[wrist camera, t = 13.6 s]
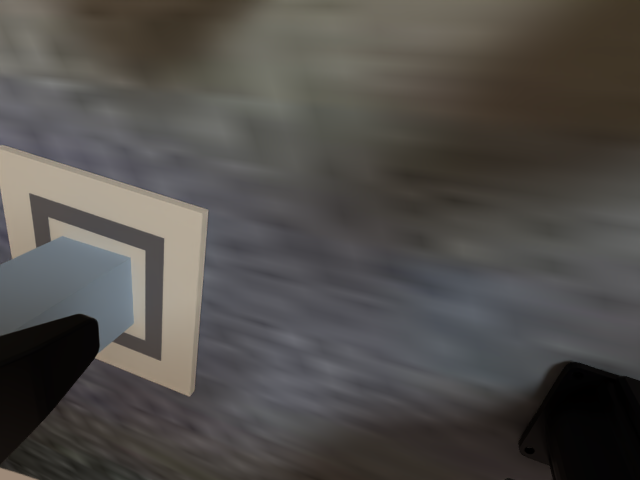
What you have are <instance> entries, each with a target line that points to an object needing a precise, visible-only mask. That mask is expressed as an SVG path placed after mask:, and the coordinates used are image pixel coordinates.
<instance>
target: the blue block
mask: <svg viewBox="0 0 640 480" xmlns="http://www.w3.org/2000/svg"><path fill="white" fill-rule="evenodd" d="M74 314H85V315H87V316H90V317H92V318H95V319H96V320H97V321H98V324H99V339H100V348H99V352H100V351H102V350H103V349H104V348H105V347H106V346H108V345H109V344H110V343H111V342H112V341H114V340H115V339H116V338H117V337H118V336H120V335H121V334H122V333H123V332H124V331H126V330H127V329H128V328H129V327H130V326H132V325H133V324H134V314H133V294H132V274H131V258H130V257H127V256H123V255H120V254H117V253H114V252H111V251H108V250H104V249H101V248H98V247H95V246H92V245H89V244H86V243H82V242H79V241H76V240H73V239H70V238H67V237H64V236H61V237H59V238H57V239H55V240H53V241H50V242H48V243H46V244H44V245H42V246H40V247H37V248H35V249H33V250H31V251H29V252H27V253H24V254H22V255H20V256H18V257H16V258H14V259H11V260H9V261H7V262H5V263H3V264H1V265H0V336H1V335H5V334H8V333H12V332H15V331H19V330H22V329H26V328H29V327H33V326H36V325H40V324H43V323H47V322H50V321H54V320H57V319H61V318H64V317H68V316H71V315H74ZM99 352H98V353H99Z"/></svg>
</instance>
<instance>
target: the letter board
mask: <svg viewBox="0 0 640 480" xmlns="http://www.w3.org/2000/svg"><path fill="white" fill-rule="evenodd" d="M0 189H1V195H2V201H3V207H4V213H5V219H6V225H7V231H8V237H9V243H10V249H11V255H12V259H14V258H16V257H18V256H20V255H22V254H24V253H27V252H29V251H31V250H33V249H35V248H37V247H40V246H42V245H44V244H46V243H48V242H50V241H53V240H55V239H57V238H59V237H61V236H64V237H67V238H70V239H73V240H76V241H79V242H82V243H86V244H89V245H92V246H95V247H98V248H101V249H104V250H108V251H111V252H114V253H117V254H120V255H123V256H127V257H130V258H131V274H132V294H133V314H134V324H133V325H132V326H130V327H129V328H128V329H127V330H126V331H124V332H123V333H122V334H121V335H120V336H118V337H117V338H116V339H115V340H114V341H112V342H111V343H110V344H109V345H108V346H106V347H105V348H104V349H103V350H102V351H100V352H99V353H98V354H97V356H96V357H95V358H96V359H98V360H101V361H103V362H106V363H108V364H111V365H113V366H115V367H118V368H120V369H123V370H125V371H128V372H130V373H133V374H135V375H138V376H140V377H143V378H145V379H147V380H150V381H152V382H155V383H157V384H160V385H162V386H165V387H167V388H170V389H172V390H174V391H177V392H179V393H182V394H184V395H187V396H189V397H190V396H191V394H192V393H193V392H194V391H195V378H196V365H197V352H198V339H199V326H200V313H201V300H202V287H203V275H204V262H205V249H206V236H207V223H208V210H207V209H204V208H201V207H198V206H195V205H191V204H188V203H185V202H182V201H179V200H176V199H172V198H169V197H166V196H163V195H160V194H157V193H153V192H150V191H147V190H144V189H141V188H138V187H134V186H131V185H128V184H125V183H122V182H119V181H115V180H112V179H109V178H106V177H103V176H100V175H96V174H93V173H90V172H87V171H84V170H81V169H77V168H74V167H71V166H68V165H65V164H62V163H58V162H55V161H52V160H49V159H46V158H43V157H39V156H36V155H33V154H30V153H27V152H24V151H20V150H17V149H14V148H11V147H8V146H5V145H1V146H0Z"/></svg>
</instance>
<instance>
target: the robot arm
mask: <svg viewBox="0 0 640 480" xmlns="http://www.w3.org/2000/svg"><path fill="white" fill-rule="evenodd" d="M99 348H100V339H99V324H98V321H97V320H96V319H95V318H92V317H90V316H87V315H85V314H74V315H71V316H68V317H64V318H61V319H57V320H54V321H50V322H47V323H43V324H40V325H36V326H33V327H29V328H26V329H22V330H19V331H15V332H12V333H8V334H5V335H1V336H0V465H1V464H2V463H3V461H4V460H5V459H6V458H7V457H8V456H9V455H10V454H11V453H12V452H13V451H14V450H15V449H16V448H17V447H18V446H19V445H20V444H21V443H22V442H23V441H24V440H25V439H26V438H27V437H28V436H29V435H30V434H31V433H32V432H33V431H34V430H35V429H36V427H37V426H38V425H39V424H40V423H41V422H42V421H43V420H44V419H45V418H46V417H47V416H48V415H49V414H50V412H51V411H52V410H53V409H54V408H55V407H56V405H57V404H58V403H59V402H60V401H61V399H62V398H63V397H64V396H65V394H66V393H67V392H68V391H69V389H70V388H71V387H72V386H73V384H74V383H75V382H76V381H77V380H78V378H79V377H80V376H81V375H82V373H83V372H84V371H85V370H86V368H87V367H88V366H89V365H90V364H91V362H92V361H93V360H94V359H95V357H96V356H97V354H98V352H99ZM574 372H580V374H578V375H573V373H574ZM518 445H519V450H520V453H521V454H522V455H524V456H526V457H528V458H531V459H533V460H536V461H539V462H541V463H544V464H547V465H549V466H550V469H551V473H552V477H553V480H640V381H639V380H636V379H633V378H630V377H627V376H618V375H615V374H612V373H609V372H606V371H603V370H600V369H597V368H594V367H591V366H588V365H585V364H582V363H577V362H574V363H569V364H567V365H566V366H565V367H564V369H563V371H562V372H561V374H560V375H559V377H558V379H557V380H556V382H555V384H554V385H553V387H552V388H551V390H550V392H549V393H548V395H547V396H546V398H545V400H544V401H543V403H542V405H541V406H540V408H539V409H538V411H537V413H536V414H535V416H534V418H533V419H532V421H531V422H530V424H529V426H528V427H527V429H526V431H525V432H524V434H523V435H522V437H521V439H520V440H519V443H518ZM526 447H532V448H526ZM505 480H513V479H511V478H507V479H505Z"/></svg>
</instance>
